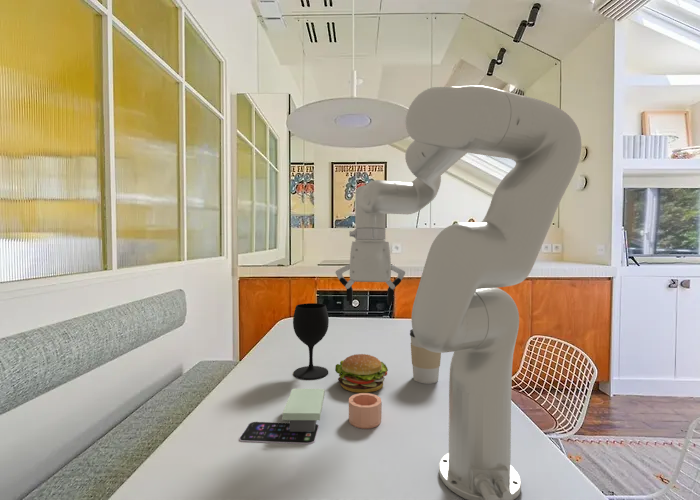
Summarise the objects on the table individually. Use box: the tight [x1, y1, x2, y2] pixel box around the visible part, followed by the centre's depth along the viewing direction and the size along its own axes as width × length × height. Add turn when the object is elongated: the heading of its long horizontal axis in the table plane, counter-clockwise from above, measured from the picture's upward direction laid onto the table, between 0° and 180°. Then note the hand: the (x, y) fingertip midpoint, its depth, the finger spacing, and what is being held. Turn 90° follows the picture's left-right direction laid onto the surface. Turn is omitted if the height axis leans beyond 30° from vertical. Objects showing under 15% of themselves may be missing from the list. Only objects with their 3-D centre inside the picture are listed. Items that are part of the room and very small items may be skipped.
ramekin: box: [348, 392, 383, 430], centre depth 78 cm, size 7×7×4 cm
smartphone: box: [238, 421, 320, 445], centre depth 73 cm, size 8×1×15 cm
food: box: [335, 353, 389, 394], centre depth 98 cm, size 14×14×8 cm
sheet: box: [282, 388, 326, 421], centre depth 78 cm, size 12×8×1 cm, turn 0°
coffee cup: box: [409, 328, 442, 384], centre depth 102 cm, size 9×9×15 cm
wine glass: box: [292, 302, 330, 381], centre depth 106 cm, size 10×10×20 cm
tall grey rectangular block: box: [289, 420, 318, 432], centre depth 78 cm, size 10×5×3 cm, turn 179°
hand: (370, 304), depth 90 cm, fingers open, 9 cm apart
